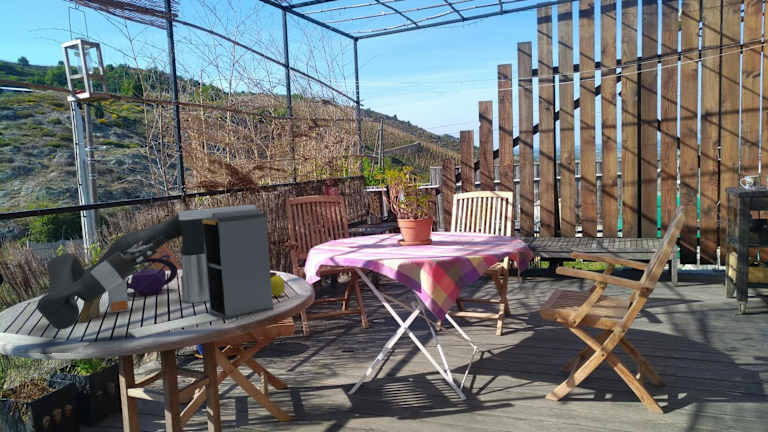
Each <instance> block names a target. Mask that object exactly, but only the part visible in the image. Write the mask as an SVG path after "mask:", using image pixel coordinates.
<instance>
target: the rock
mask: <svg viewBox="0 0 768 432" xmlns="http://www.w3.org/2000/svg"><path fill="white" fill-rule="evenodd" d="M100 304H101V296H100V297H98V298H97V299H96V300H94V301H93V302H91V303H86V302H84V301H83V305H82V306H83V307H82V308H81V312H80V315H79V320H78V322H79V323H86V322H88V321H91V320H93V319H94V318H97V317H98V316H100V315H101V309H100V308H101V307H100Z"/></svg>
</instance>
